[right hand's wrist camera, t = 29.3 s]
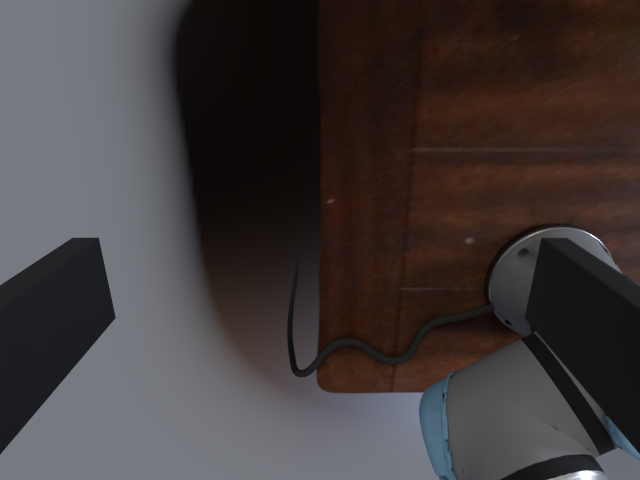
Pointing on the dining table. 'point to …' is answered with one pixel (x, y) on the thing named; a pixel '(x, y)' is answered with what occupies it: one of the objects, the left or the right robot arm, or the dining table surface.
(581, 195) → the dining table surface
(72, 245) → the right robot arm
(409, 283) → the dining table surface
